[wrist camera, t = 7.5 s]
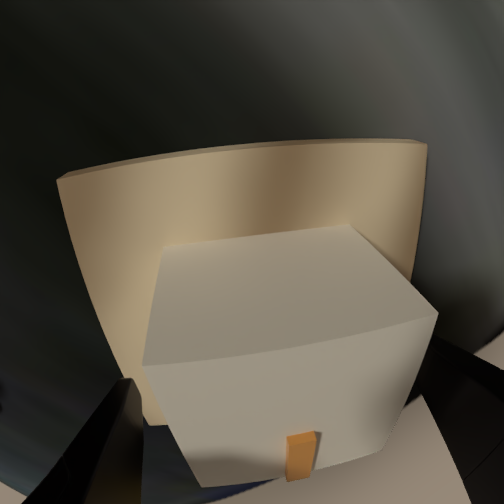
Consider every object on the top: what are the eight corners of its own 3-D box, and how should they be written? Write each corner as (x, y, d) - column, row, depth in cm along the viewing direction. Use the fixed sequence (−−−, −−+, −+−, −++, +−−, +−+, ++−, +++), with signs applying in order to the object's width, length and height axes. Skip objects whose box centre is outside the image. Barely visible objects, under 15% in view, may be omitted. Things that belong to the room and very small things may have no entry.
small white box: (349, 224, 10) (446, 321, 6) (336, 355, 13) (385, 457, 8) (163, 246, 10) (140, 378, 5) (195, 378, 12) (202, 495, 8)
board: (411, 139, 10) (488, 164, 7) (375, 373, 16) (406, 428, 12) (68, 172, 9) (7, 214, 6) (150, 410, 15) (146, 476, 11)
